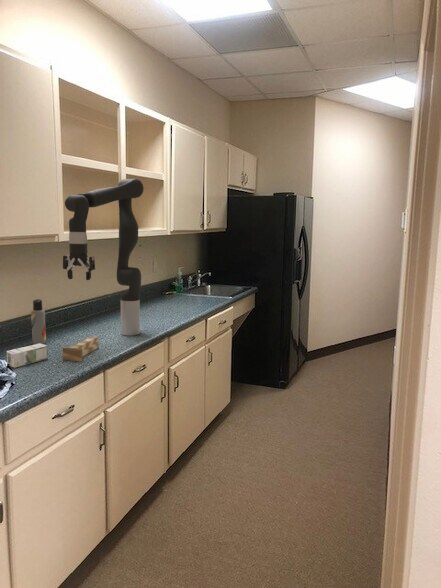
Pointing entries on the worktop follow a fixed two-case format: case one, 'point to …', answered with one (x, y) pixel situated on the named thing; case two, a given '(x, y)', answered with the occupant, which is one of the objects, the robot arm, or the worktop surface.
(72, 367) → the worktop surface
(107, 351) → the worktop surface
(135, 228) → the robot arm
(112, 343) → the worktop surface
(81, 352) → the tan wooden block
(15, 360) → the syrup box
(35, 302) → the lotion bottle
